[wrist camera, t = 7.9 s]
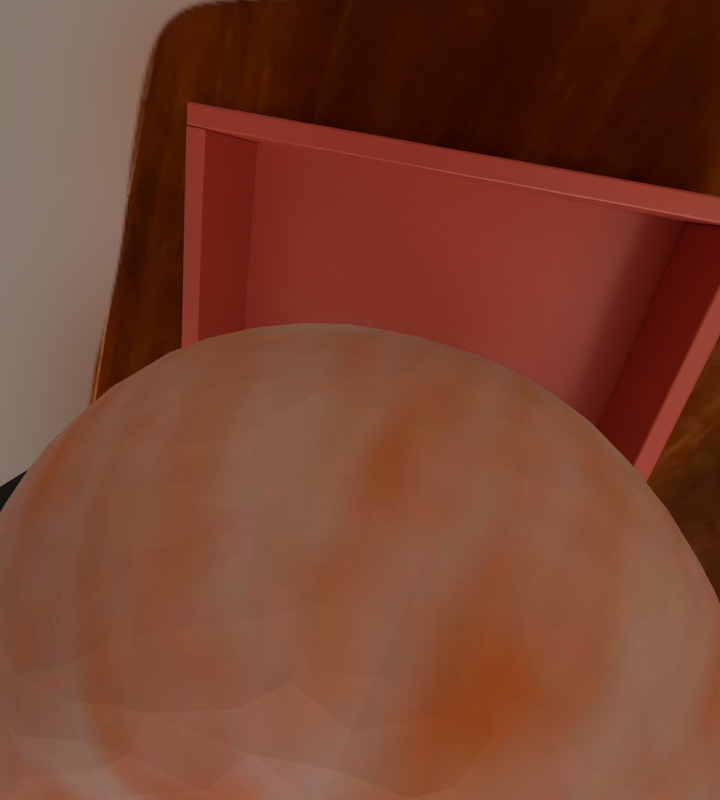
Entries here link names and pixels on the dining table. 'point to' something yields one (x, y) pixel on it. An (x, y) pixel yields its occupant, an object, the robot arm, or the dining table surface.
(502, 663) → the tomato
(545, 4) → the dining table surface
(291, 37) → the dining table surface
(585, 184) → the red bin
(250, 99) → the dining table surface
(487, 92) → the dining table surface
